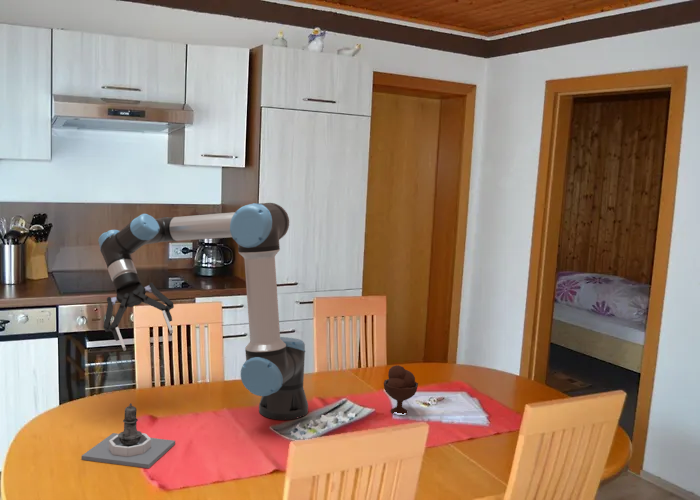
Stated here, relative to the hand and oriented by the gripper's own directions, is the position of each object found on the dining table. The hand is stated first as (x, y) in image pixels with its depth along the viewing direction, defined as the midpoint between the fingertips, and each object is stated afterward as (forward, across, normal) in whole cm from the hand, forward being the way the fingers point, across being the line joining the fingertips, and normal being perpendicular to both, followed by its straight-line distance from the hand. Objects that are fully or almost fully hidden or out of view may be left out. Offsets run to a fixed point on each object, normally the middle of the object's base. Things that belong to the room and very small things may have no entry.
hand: (148, 340), depth 189 cm
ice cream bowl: (+46, -63, -16) cm, 80 cm away
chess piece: (+28, +14, +4) cm, 32 cm away
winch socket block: (+29, +14, +4) cm, 32 cm away
